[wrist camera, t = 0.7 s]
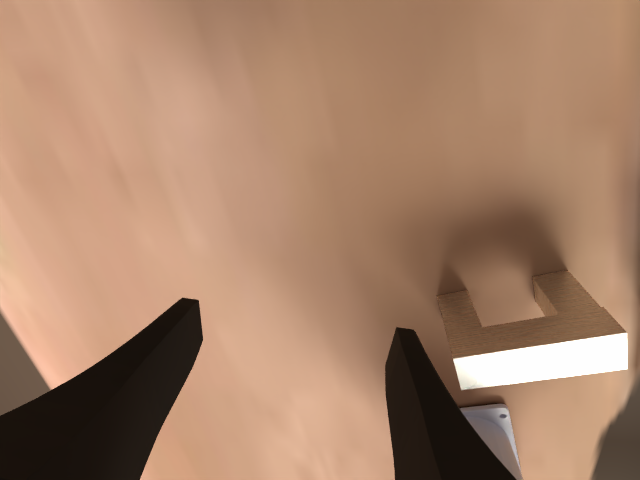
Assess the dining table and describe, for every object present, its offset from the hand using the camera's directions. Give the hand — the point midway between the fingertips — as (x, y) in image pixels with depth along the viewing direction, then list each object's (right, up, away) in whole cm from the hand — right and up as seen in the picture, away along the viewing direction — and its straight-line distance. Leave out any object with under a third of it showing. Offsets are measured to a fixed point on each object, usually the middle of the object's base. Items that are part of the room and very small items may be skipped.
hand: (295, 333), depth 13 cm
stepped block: (+13, 0, +11) cm, 17 cm away
